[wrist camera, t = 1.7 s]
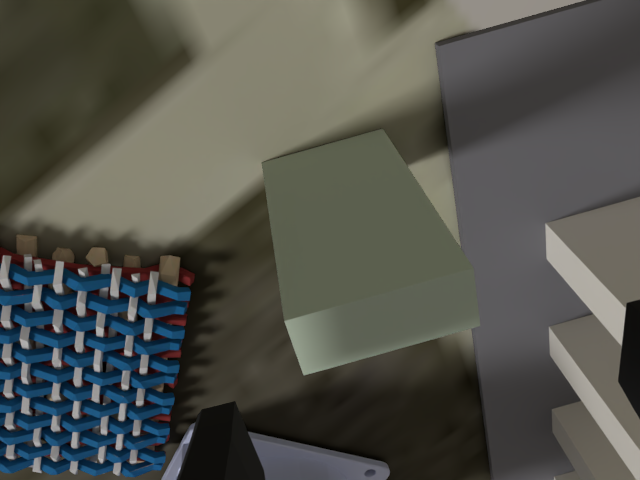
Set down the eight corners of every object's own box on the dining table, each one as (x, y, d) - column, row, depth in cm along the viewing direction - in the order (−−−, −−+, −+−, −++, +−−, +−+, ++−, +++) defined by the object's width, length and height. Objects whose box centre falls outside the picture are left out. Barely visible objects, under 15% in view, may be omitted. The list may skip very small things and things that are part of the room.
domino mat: (434, 43, 18) (438, 45, 17) (759, -49, 18) (770, -48, 17) (497, 528, 31) (500, 535, 31) (679, 477, 31) (684, 484, 31)
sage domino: (261, 162, 19) (284, 321, 12) (382, 128, 19) (473, 268, 12) (275, 205, 20) (303, 375, 13) (391, 172, 20) (480, 325, 13)
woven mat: (-153, 202, 18) (-192, 236, 16) (198, 245, 21) (196, 278, 19) (-112, 437, 23) (-139, 482, 21) (167, 449, 26) (163, 490, 24)
